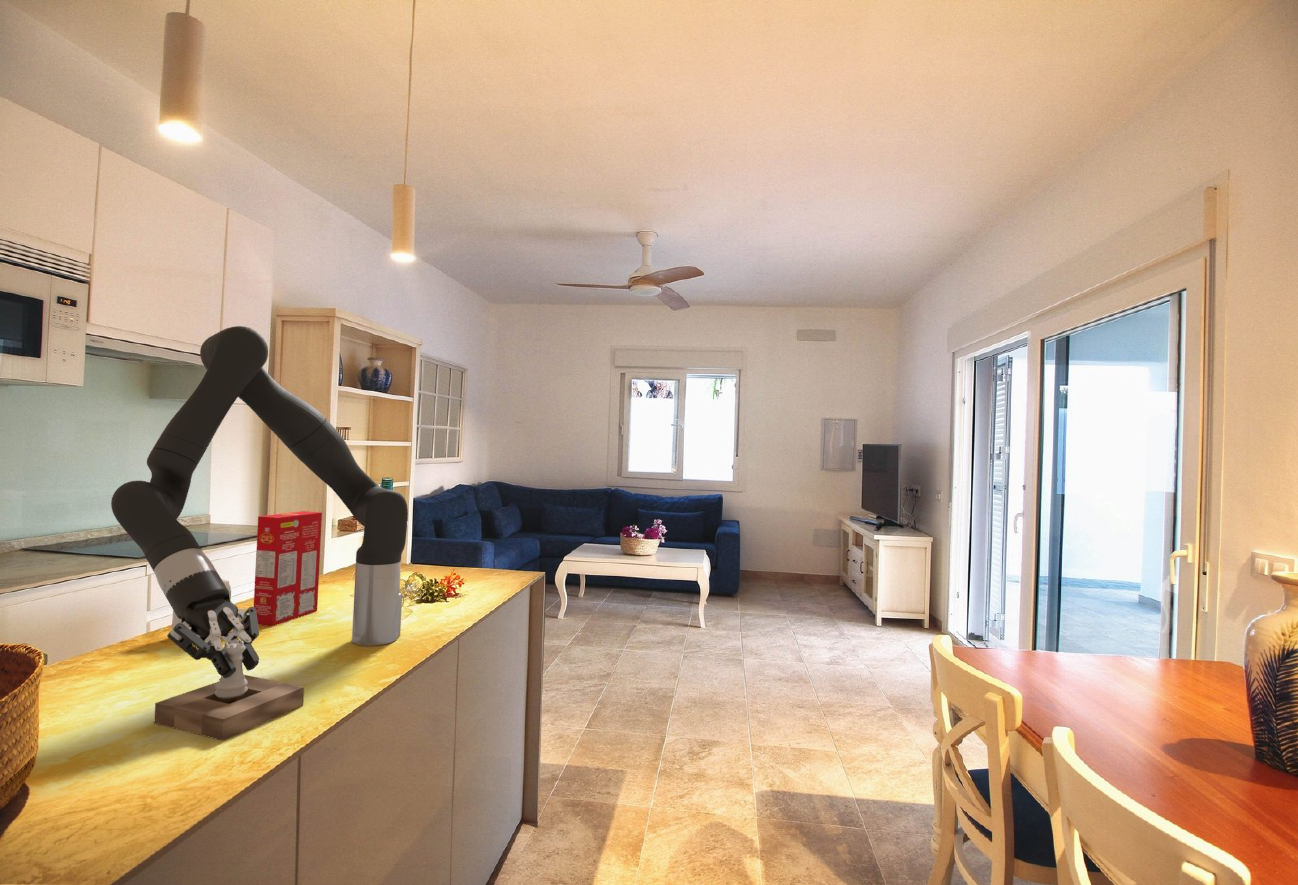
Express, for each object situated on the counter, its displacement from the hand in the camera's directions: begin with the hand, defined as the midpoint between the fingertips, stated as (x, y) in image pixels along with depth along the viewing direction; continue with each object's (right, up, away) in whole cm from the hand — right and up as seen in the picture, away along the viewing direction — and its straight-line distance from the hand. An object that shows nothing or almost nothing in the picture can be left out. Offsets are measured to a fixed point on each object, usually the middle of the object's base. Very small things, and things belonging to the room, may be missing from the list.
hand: (242, 670), depth 101 cm
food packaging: (-24, -7, +56) cm, 61 cm away
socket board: (-2, -7, +1) cm, 7 cm away
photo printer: (-33, -6, +39) cm, 52 cm away
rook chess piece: (-2, -4, +1) cm, 5 cm away
